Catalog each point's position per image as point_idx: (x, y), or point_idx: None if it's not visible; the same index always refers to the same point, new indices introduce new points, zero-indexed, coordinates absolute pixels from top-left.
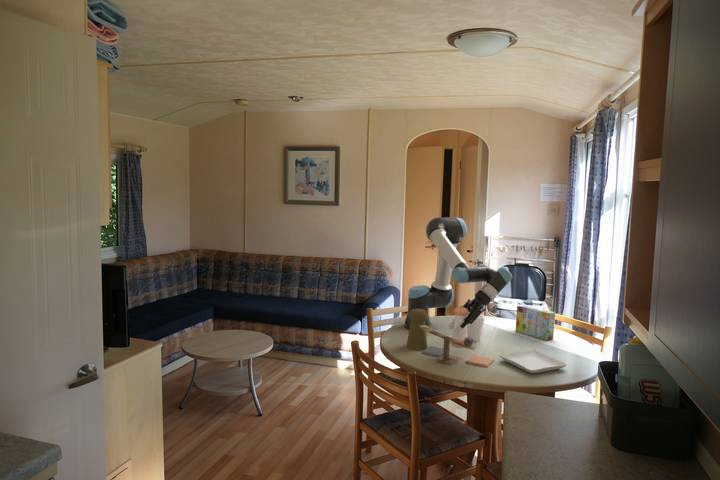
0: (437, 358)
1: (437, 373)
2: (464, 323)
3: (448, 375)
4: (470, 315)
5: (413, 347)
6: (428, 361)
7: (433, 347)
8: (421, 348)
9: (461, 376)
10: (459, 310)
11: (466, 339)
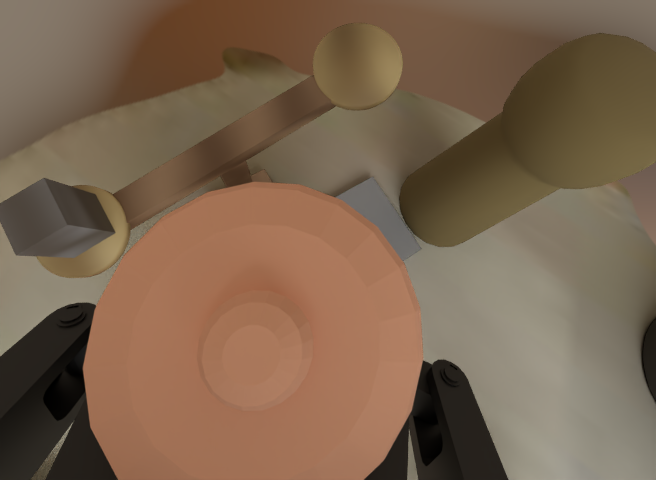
0: (267, 175)
1: (155, 100)
2: None
3: (114, 121)
4: (78, 432)
5: (418, 169)
6: (279, 148)
7: (400, 248)
8: (404, 195)
9: (74, 156)
10: (176, 209)
11: (35, 186)
